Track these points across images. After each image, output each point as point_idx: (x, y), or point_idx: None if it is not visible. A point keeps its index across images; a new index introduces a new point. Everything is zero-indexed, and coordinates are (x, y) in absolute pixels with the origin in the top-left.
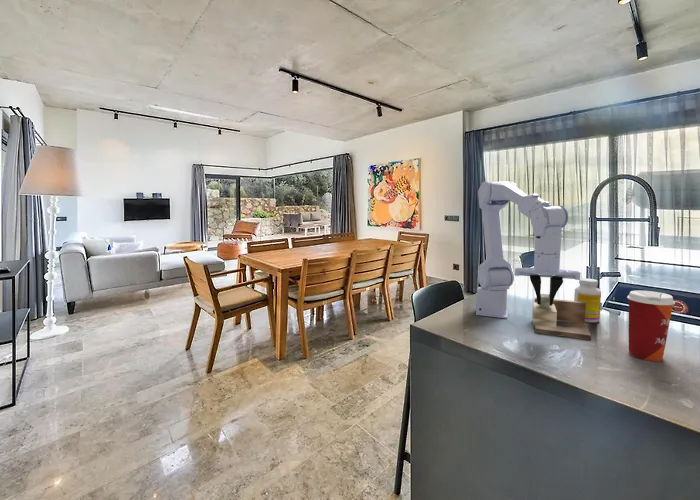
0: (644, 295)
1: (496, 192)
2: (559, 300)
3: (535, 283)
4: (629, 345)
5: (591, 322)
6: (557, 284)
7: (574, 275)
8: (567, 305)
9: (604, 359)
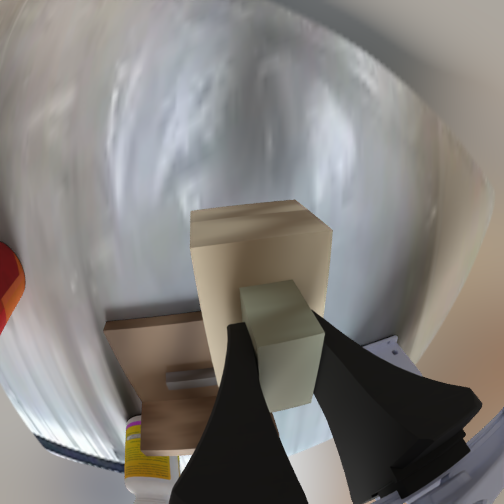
0: None
1: None
2: None
3: (435, 398)
4: (10, 275)
5: (136, 416)
6: (222, 479)
7: None
8: (184, 438)
9: (55, 176)
